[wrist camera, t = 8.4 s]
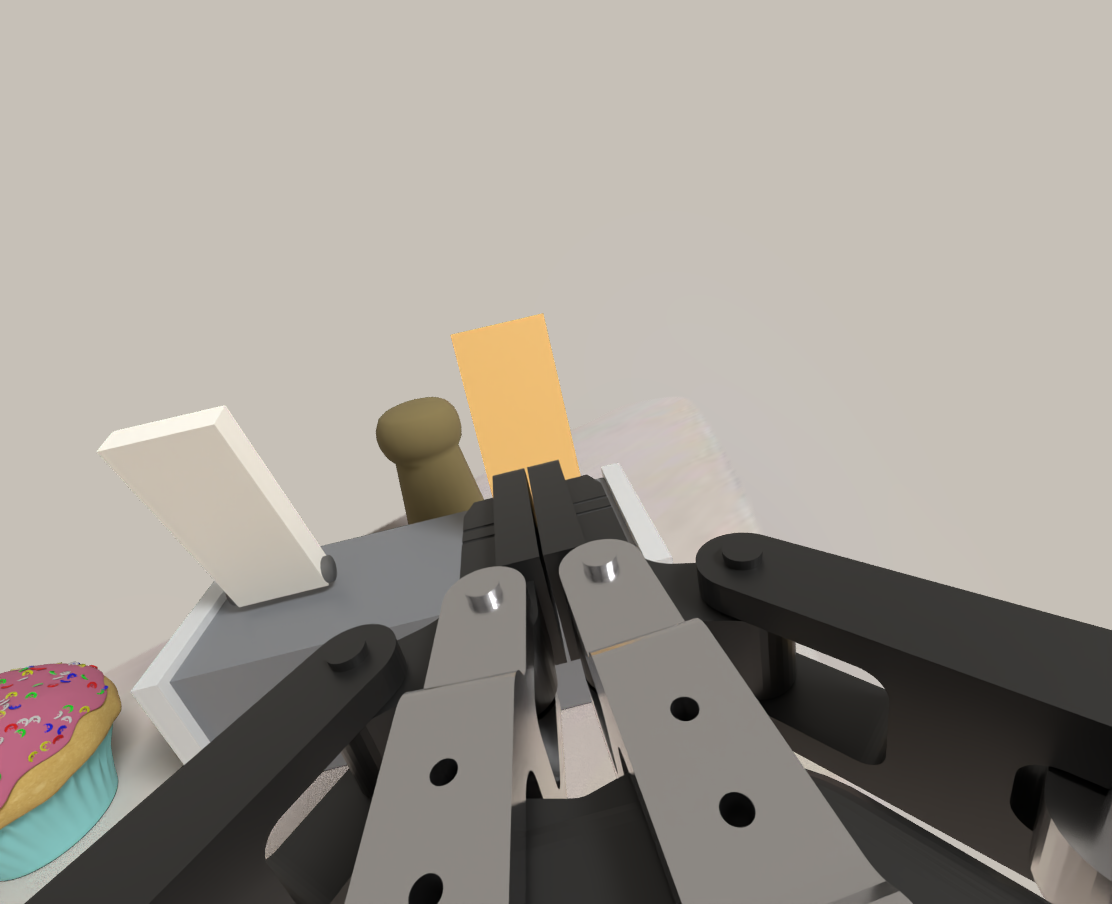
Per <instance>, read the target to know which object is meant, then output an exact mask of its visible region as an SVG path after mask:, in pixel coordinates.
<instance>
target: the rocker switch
mask: <svg viewBox="0 0 1112 904" xmlns="http://www.w3.org/2000/svg"><path fill="white" fill-rule="evenodd" d="M97 453H98V454H99V455H100V457H101V458H102V459H103V460H104V461H105V462H106V463H107V464H108V465H109V466H110V467H111V469H112V470H114V472H115V473H116V474H117V475H118V476H119V477H120V478H121V479H122V480H123V482H124V483H126V485H127V486H128V487H129V488H130V489H131V490H132V491H133V493H134V494H136V495H137V497H138V498H139V499H140V500H141V501H142V502H143V503H144V504H145V505H146V507H147V508H148V509H149V510H150V511H151V512H152V513H153V514H154V515H155V516H156V517H157V519H158V520H159V521H160V522H161V523H162V524H163V525H164V526H165V527H166V528H167V529H168V531H169V532H170V533H171V534H172V535H173V536H174V537H175V538H176V539H177V540H178V541H179V543H180V544H181V545H182V546H183V547H184V548H185V549H186V550H187V551H188V552H189V553H190V555H191V556H192V557H193V558H194V559H195V560H196V561H197V562H198V563H199V564H200V565H201V567H202V568H203V569H204V570H205V571H206V572H207V573H208V574H209V575H210V576H211V577H212V578H213V580H214V581H215V582H216V583H217V584H218V585H219V586H220V587H221V588H222V589H223V591H224V592H225V594H226V598H227V600H228V602H229V603H230V604H231V605H233V606H236V605H237V606H238V607H243V606H247V605H251V604H255V603H259V602H263V601H267V600H271V599H275V598H279V597H283V596H287V595H291V594H296V593H300V592H304V591H308V590H312V589H316V588H320V587H324V586H328V585H329V583H330V582H334V581H335V580H336V577H337V567H336V563H335V561H334V559H333V557H332V556H331V555H326V554H325V553H324V551H323V550H322V548H321V547H320V545H319V544H318V543H317V541H316V540H315V538H314V537H313V535H312V534H311V532H310V530H309V529H308V528H307V526H306V525H305V523H304V522H303V520H302V519H301V517H300V516H299V514H298V513H297V511H296V510H295V508H294V507H293V505H292V504H291V502H290V501H289V499H288V498H287V496H286V495H285V493H284V492H283V490H282V489H281V487H280V486H279V484H278V483H277V481H276V480H275V478H274V477H273V476H272V474H271V473H270V471H269V470H268V468H267V467H266V465H265V464H264V462H263V461H262V459H261V458H260V456H259V455H258V453H257V452H256V450H255V449H254V447H253V446H252V444H251V443H250V441H249V440H248V439H247V437H246V435H245V434H244V432H243V431H242V429H241V428H240V426H239V425H238V424H237V422H236V421H235V419H234V418H233V416H232V415H231V413H230V412H229V410H228V409H227V407H226V406H225V405H224V406H219V407H215V408H211V409H207V410H203V411H198V412H194V413H189V414H185V415H181V416H177V417H172V418H168V419H164V420H159V421H155V422H151V423H147V424H143V425H138V426H134V427H130V428H126V429H121V430H117V431H113V432H112V433H111V434H110V436H109V437H108V438H107V440H106V441H105V442H104V443H103V444H102V445H101V447H100V448H99V449H98V450H97Z"/></svg>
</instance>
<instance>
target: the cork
mask: <svg viewBox="0 0 1112 904" xmlns="http://www.w3.org/2000/svg"><path fill="white" fill-rule="evenodd" d="M461 435H462V434H461V423H460V419H459V416H458V413H457V411H456V410H455V408H454V406H453V405H451V404H450V403H449V402H448V401H446V400H445V399H442V398H438V397H426V398H420V399H414V400H411V401H407V402H404V403H402V404H399V405H397V406H395V407H393V408H391V409H389V410H388V411H386V412H385V413H384V414H383V415H382V416H381V417H380V418H379V420H378V424H377V429H376V438H377V442H378V445H379V447H380V449H381V451H382V452H383V453H384V455H385V456H386V457H387V458H388V459H389V460H390V461H392V462H393V463H395V464H396V468H397V472H398V477H399V482H400V487H401V491H402V496H403V501H404V505H405V510H406V515H407V520H408V525H410V524H414V523H418V522H422V521H426V520H431V519H435V518H439V517H443V516H447V515H451V514H455V513H459V512H463V511H468V510H469V509H470V507H471V506H472V505H473V503H474V502H478V501H482V500H484V499H483V496H482V494H481V492H480V490H479V488H478V486H477V484H476V481H475V479H474V477H473V475H472V473H471V471H470V469H469V466H468V464H467V462H466V460H465V458H464V456H463V453H462V451H461V449H460V447H459V445H458V444H459V441H460V438H461Z"/></svg>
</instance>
